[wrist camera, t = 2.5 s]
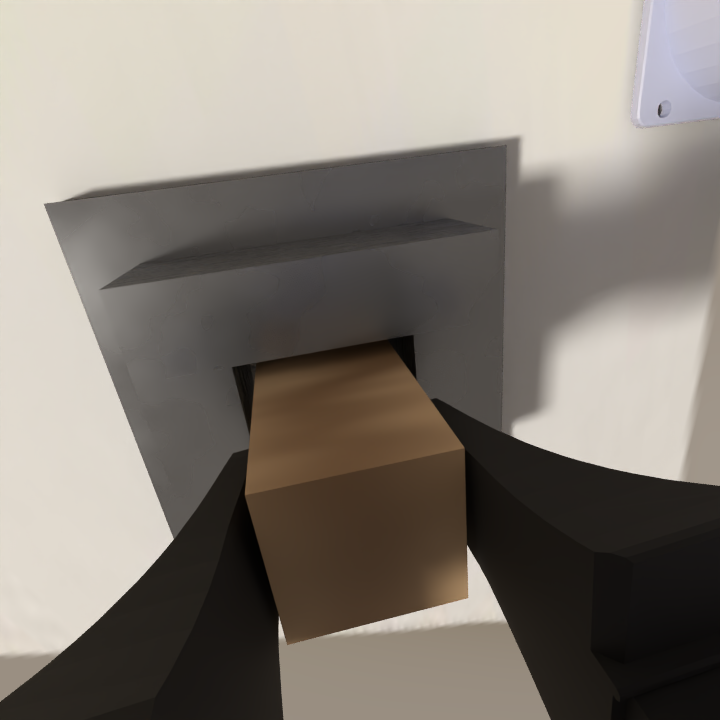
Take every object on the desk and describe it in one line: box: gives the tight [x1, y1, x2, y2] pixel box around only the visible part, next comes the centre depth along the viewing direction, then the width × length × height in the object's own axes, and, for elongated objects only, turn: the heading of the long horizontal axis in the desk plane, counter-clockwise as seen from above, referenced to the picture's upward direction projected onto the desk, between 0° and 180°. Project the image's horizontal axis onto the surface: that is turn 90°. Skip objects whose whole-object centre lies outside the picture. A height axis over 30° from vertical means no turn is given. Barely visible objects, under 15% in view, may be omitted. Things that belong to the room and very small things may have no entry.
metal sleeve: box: [44, 145, 506, 539], centre depth 15 cm, size 14×14×5 cm
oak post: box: [245, 339, 468, 645], centre depth 12 cm, size 4×4×8 cm
